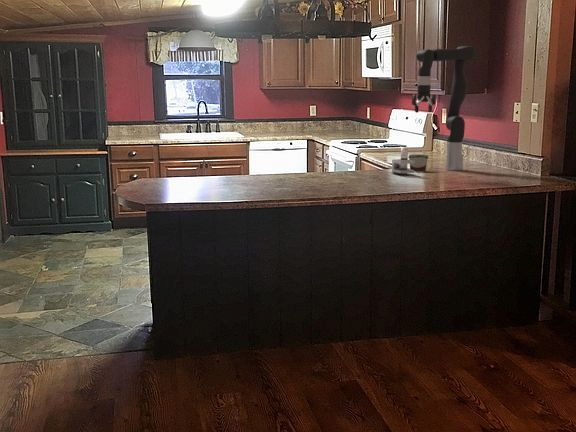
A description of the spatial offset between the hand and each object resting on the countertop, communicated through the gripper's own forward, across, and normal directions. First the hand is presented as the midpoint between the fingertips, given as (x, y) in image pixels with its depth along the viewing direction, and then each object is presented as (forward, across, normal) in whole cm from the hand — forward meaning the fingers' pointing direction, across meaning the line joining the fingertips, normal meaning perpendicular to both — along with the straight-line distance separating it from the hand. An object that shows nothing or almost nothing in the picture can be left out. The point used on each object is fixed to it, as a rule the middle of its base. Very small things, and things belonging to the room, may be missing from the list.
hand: (423, 112), depth 384 cm
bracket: (+36, +14, +2) cm, 39 cm away
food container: (+36, -3, -10) cm, 38 cm away
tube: (+36, +14, +4) cm, 39 cm away
